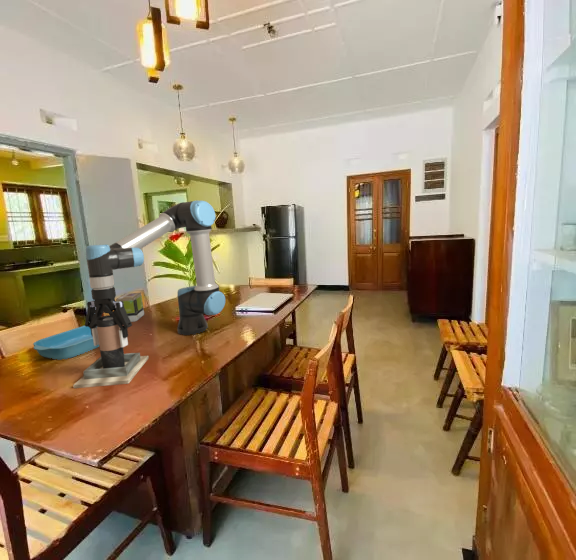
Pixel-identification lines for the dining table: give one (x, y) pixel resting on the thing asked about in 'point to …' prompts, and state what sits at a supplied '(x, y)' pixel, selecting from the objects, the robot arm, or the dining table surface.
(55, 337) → the casserole dish
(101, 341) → the travel mug
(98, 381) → the docking board
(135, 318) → the tea box
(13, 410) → the dining table surface
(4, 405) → the dining table surface
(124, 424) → the dining table surface
